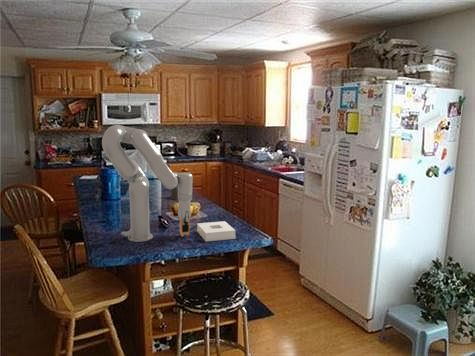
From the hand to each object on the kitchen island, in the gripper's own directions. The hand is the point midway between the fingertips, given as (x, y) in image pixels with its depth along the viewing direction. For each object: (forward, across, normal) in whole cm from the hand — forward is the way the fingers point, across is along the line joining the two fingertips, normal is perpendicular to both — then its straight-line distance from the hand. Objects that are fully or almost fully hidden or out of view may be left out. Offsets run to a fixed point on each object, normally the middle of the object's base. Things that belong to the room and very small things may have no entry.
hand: (184, 230), depth 211 cm
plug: (+3, 0, 0) cm, 3 cm away
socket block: (+3, +2, +17) cm, 17 cm away
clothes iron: (+4, -87, +17) cm, 89 cm away
